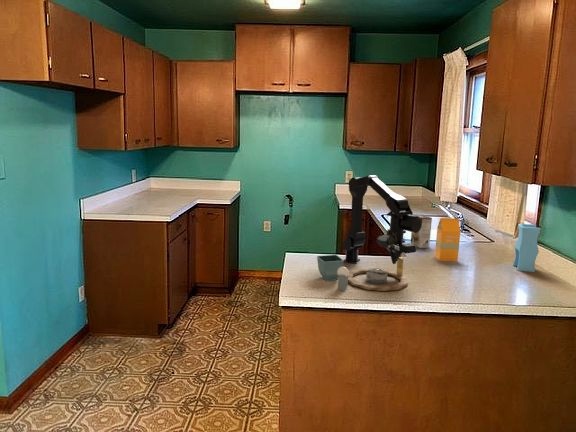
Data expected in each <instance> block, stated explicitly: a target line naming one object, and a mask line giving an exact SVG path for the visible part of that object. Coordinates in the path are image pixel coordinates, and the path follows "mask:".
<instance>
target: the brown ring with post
mask: <svg viewBox="0 0 576 432" xmlns="http://www.w3.org/2000/svg"><path fill="white" fill-rule="evenodd" d="M370 269H372V268H370V267H368V268H359V269H353V270H351V271H349V275H348V284H351V285H352V286H354V287H357V288H361V289H364V290H368V291H380V292H382V291H383V292H387V291H388V292H389V291H396V290H402V289H403V288H405V287H406V286H408V284H409V283H408V278H407V276H405V275H403V274H404V273H403V272H404V270H403V269H404V258H403V257H399V258H398V260H397V262H396V271H393V270H388V269H384V268H382V269H381V268H380V269H381V270H384V271H386V272H387V276H388V275H389V276H393V277H394V278H396V279H398V280H399V281H400V282H398V283H396V284H391V285H383V286H382V285H375V284H367V283H363V282H360V281H358V280H356V279H354V276H357V275H359V274H367V270H370Z"/></svg>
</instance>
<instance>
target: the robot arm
mask: <svg viewBox="0 0 576 432" xmlns="http://www.w3.org/2000/svg"><path fill="white" fill-rule="evenodd" d="M368 187H370V188H371V189H372V190H373V191H374V192H375V193H376V194H378V195H379V196H380V197H381V199H383V200H384V201H385V205H386V206H387V208H388V210H389V212H388V213H386V216H387V217H388V216H389V217H390V221H389V229H387V231H386V233H385V234H382V235H378V236H377V237H376V239H375V244H378V246H379V247H382V248H385V249H387V251H388V253H389V255H390V260H391V262H392V264H393V265H395V264H396V265H397V260H398V258H401V255H402V254H412V253H417V246H415V245H413V244H411V242H410V243H406V240H405V239H404V234H406V233H407V232H409V233H411V232H413V233H417V232H419V231H420V229H421V225H422V224H421V221H420V220H419V219H418V218H419V216H414V215H415V214H414V213H413V210H412V209H411V207H410V204H409V200H408V199H407V198H406V197H404V196H402V195H401V194H398V193H396V192H394V191H393V190H391V189H390V188H389V187H388V186H387V185H386V184H385V183H384V182H383V181H381V179H379V178H378V176H377V175H375V174H373V175H366V176H357V177H355V176H354V177H351V178H350V179H349V180H348V191H349V193H350V195H351V211H350V213H351V214H350V227H349V229H348V231H347V233H346V239H344V241H343V242H342V243H341V249H343V250H345V258H344V259H343V260H344V262H343V263H349V264H351V263H352V264H357V263H358V262H360V260H361V259H360V258H359V249H363V247H364V245H365V242H366V241H367V236H366V235H367V233H366V231H364V230H363V228H362V225H363V209H364V208H363V206H364V203H363V202H364V196H365V195H366V193H367V192H368Z"/></svg>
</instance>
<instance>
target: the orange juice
mask: <svg viewBox="0 0 576 432" xmlns="http://www.w3.org/2000/svg"><path fill="white" fill-rule="evenodd" d="M460 239H461V226H460V219H459V218H458V217H457V218H456V217H455V218H453V217H450V218H448V217H446V218H445V217H444V218H443V217H441V218H439V221H438V225H437V229H436V239H435V249H434V250H435V251H434V252H435V253H434V257H435V258H436V259H437V260H438V261H439V262H441V261H442V262H459V261H458V259H459V251H460V241H461V240H460Z"/></svg>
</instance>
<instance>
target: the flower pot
mask: <svg viewBox="0 0 576 432" xmlns="http://www.w3.org/2000/svg"><path fill="white" fill-rule="evenodd" d="M316 259H317V267H318V272H319V274H320V276H321V277H322V278H323V280H325V281H326V282H327V281H338V274H337V270H338V269H339V268H340V267H344V263H345V262H344V259H343V258H341V257H340V256H339V255H337V254H328V255H317V257H316Z"/></svg>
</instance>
